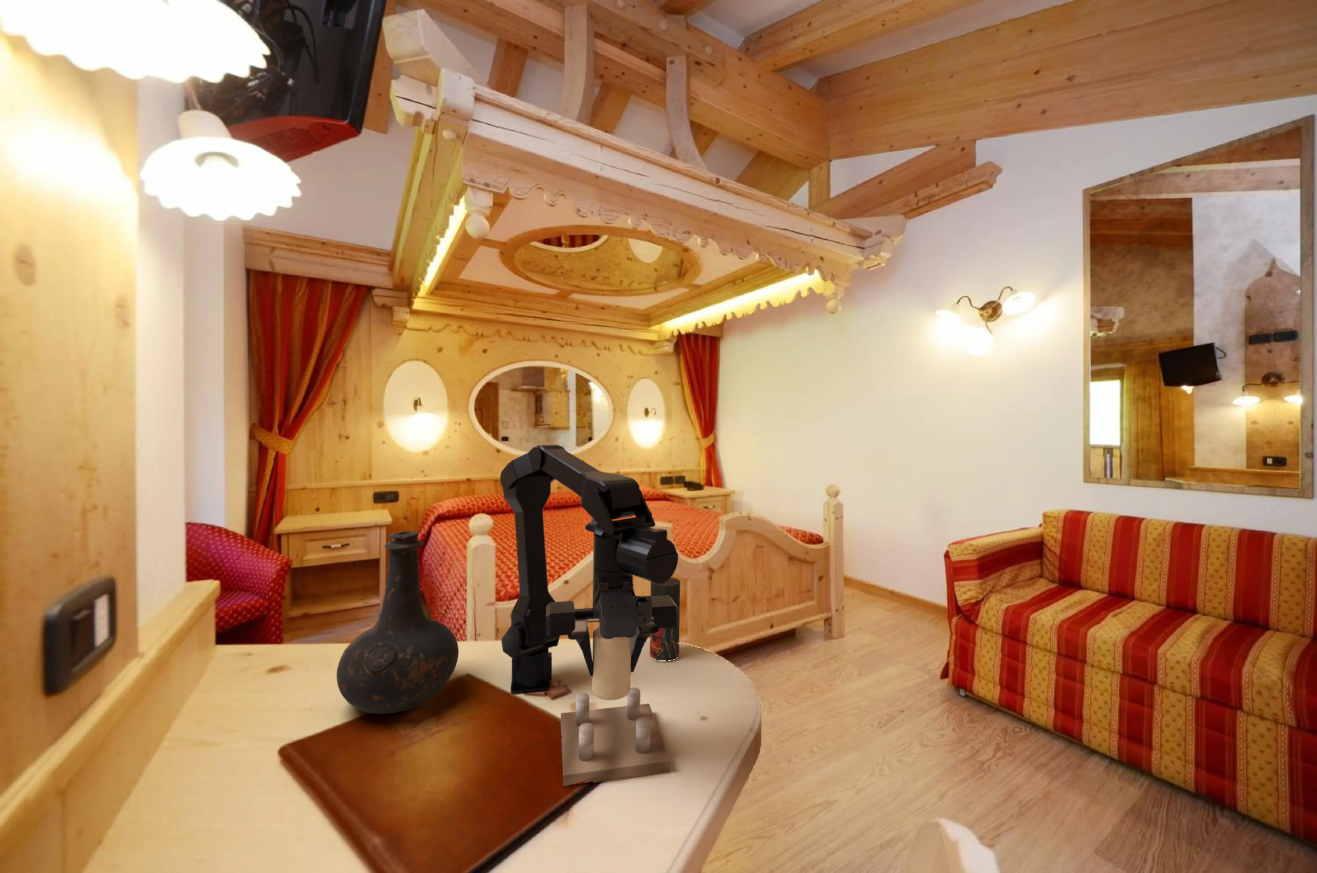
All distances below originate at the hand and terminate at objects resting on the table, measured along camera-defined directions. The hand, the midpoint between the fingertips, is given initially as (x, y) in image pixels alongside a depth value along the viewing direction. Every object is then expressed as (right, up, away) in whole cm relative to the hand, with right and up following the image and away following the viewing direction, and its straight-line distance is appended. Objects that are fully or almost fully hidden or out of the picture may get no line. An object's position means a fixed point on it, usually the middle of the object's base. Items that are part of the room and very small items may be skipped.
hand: (611, 672), depth 73 cm
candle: (0, -3, 0) cm, 3 cm away
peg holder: (0, -11, 0) cm, 11 cm away
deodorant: (+8, -10, +29) cm, 31 cm away
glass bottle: (-36, -10, +12) cm, 39 cm away
